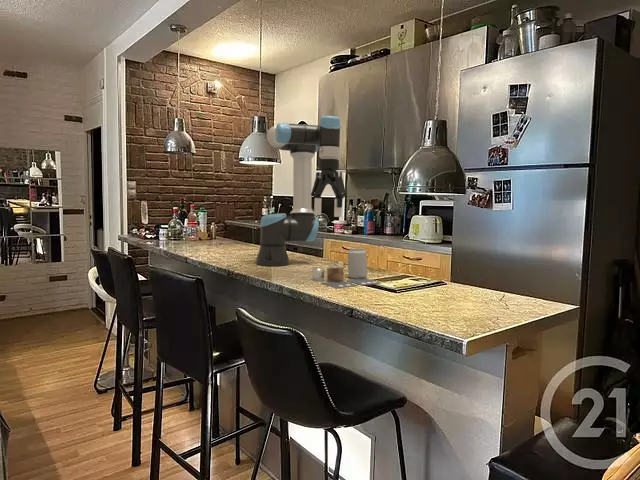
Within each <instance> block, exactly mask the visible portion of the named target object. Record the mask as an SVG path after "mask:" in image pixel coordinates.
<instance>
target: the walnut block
mask: <svg viewBox="0 0 640 480" xmlns="http://www.w3.org/2000/svg"><path fill="white" fill-rule="evenodd" d="M339 267H340V268H330V267H329V268H328V267H327V268H326V277H327V278H326V281H327V282H340V281H345V280H344V266H343V267H342V266H339Z"/></svg>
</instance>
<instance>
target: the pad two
mask: <svg viewBox="0 0 640 480" xmlns="http://www.w3.org/2000/svg"><path fill="white" fill-rule="evenodd" d="M320 284H322V285H324V286H327V287H330V288H334V289H343V288H353V287H359V285H358V284H354V283H351V282H347V281H345V280H343V281H340V282H325V281H324V282H320Z"/></svg>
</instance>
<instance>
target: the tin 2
mask: <svg viewBox="0 0 640 480" xmlns="http://www.w3.org/2000/svg"><path fill="white" fill-rule="evenodd" d="M340 267H341V266H338V265H331V266H329V268H340Z"/></svg>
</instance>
